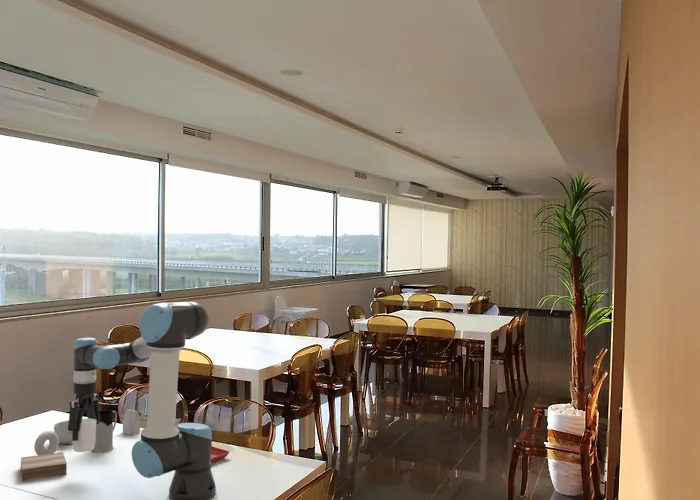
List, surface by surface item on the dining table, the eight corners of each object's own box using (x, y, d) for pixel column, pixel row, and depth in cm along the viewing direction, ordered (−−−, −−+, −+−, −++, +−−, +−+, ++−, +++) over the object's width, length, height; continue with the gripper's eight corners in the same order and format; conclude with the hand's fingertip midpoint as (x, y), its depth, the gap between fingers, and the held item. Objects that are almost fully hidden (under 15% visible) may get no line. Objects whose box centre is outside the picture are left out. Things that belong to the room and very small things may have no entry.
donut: (54, 452, 242) (55, 427, 242) (60, 453, 241) (61, 428, 241) (31, 459, 233) (32, 433, 233) (38, 461, 232) (38, 435, 232)
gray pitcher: (85, 452, 243) (86, 414, 244) (106, 441, 257) (106, 406, 258) (105, 453, 242) (106, 416, 242) (125, 443, 256) (125, 407, 256)
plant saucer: (230, 459, 240) (230, 450, 240) (195, 472, 225) (196, 463, 225) (198, 450, 250) (198, 442, 250) (163, 462, 235) (163, 453, 235)
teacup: (70, 446, 250) (71, 427, 250) (47, 444, 252) (47, 425, 252) (91, 437, 263) (91, 418, 263) (69, 435, 265) (69, 416, 266)
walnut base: (66, 474, 219) (66, 463, 219) (22, 481, 212) (22, 469, 212) (62, 462, 231) (63, 452, 231) (20, 468, 224) (21, 457, 224)
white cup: (72, 447, 219) (72, 419, 220) (95, 445, 223) (95, 417, 223) (72, 454, 212) (72, 425, 212) (96, 451, 216) (96, 422, 216)
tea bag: (133, 435, 268) (133, 412, 268) (122, 432, 271) (123, 410, 271) (139, 433, 271) (140, 410, 271) (129, 430, 274) (129, 408, 274)
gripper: (75, 387, 207) (75, 455, 207) (111, 376, 227) (110, 438, 227) (56, 386, 209) (55, 453, 208) (93, 376, 229) (92, 437, 228)
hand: (84, 445), depth 217 cm, fingers closed on white cup, 8 cm apart
